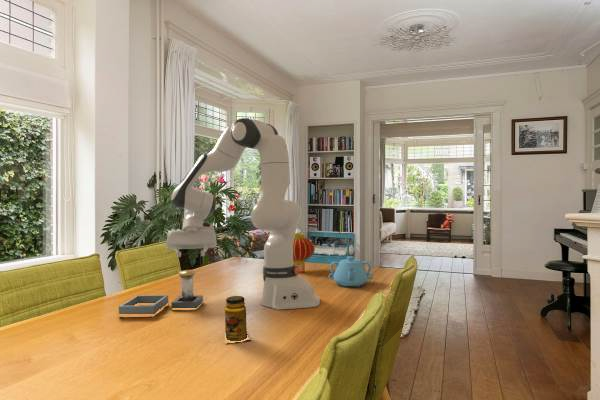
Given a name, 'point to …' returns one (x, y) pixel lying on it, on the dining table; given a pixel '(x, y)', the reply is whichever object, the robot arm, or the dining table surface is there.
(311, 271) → the dining table surface
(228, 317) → the condiment
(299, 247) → the lantern
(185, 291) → the glass jar
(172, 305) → the blue-grey square holder
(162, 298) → the tray
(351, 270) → the blue handled pot
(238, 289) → the dining table surface
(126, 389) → the dining table surface
